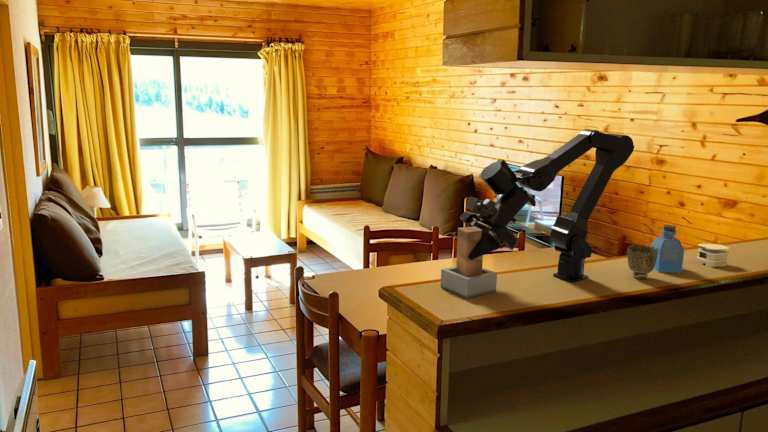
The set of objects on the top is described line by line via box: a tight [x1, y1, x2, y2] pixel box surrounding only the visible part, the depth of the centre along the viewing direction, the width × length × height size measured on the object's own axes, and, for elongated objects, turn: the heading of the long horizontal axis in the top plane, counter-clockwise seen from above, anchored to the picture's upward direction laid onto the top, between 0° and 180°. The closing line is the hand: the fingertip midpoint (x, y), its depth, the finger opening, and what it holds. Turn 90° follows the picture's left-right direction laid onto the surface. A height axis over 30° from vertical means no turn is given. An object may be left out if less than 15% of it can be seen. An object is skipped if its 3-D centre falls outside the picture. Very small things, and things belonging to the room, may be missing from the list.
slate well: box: [440, 266, 498, 300], centre depth 151 cm, size 9×9×5 cm
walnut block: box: [456, 226, 484, 277], centre depth 149 cm, size 4×4×13 cm
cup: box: [626, 244, 659, 280], centre depth 161 cm, size 8×7×8 cm
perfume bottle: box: [650, 224, 685, 274], centre depth 169 cm, size 6×6×12 cm
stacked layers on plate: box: [696, 243, 730, 268], centre depth 175 cm, size 10×9×6 cm
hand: (464, 255), depth 149 cm, fingers closed on walnut block, 4 cm apart
